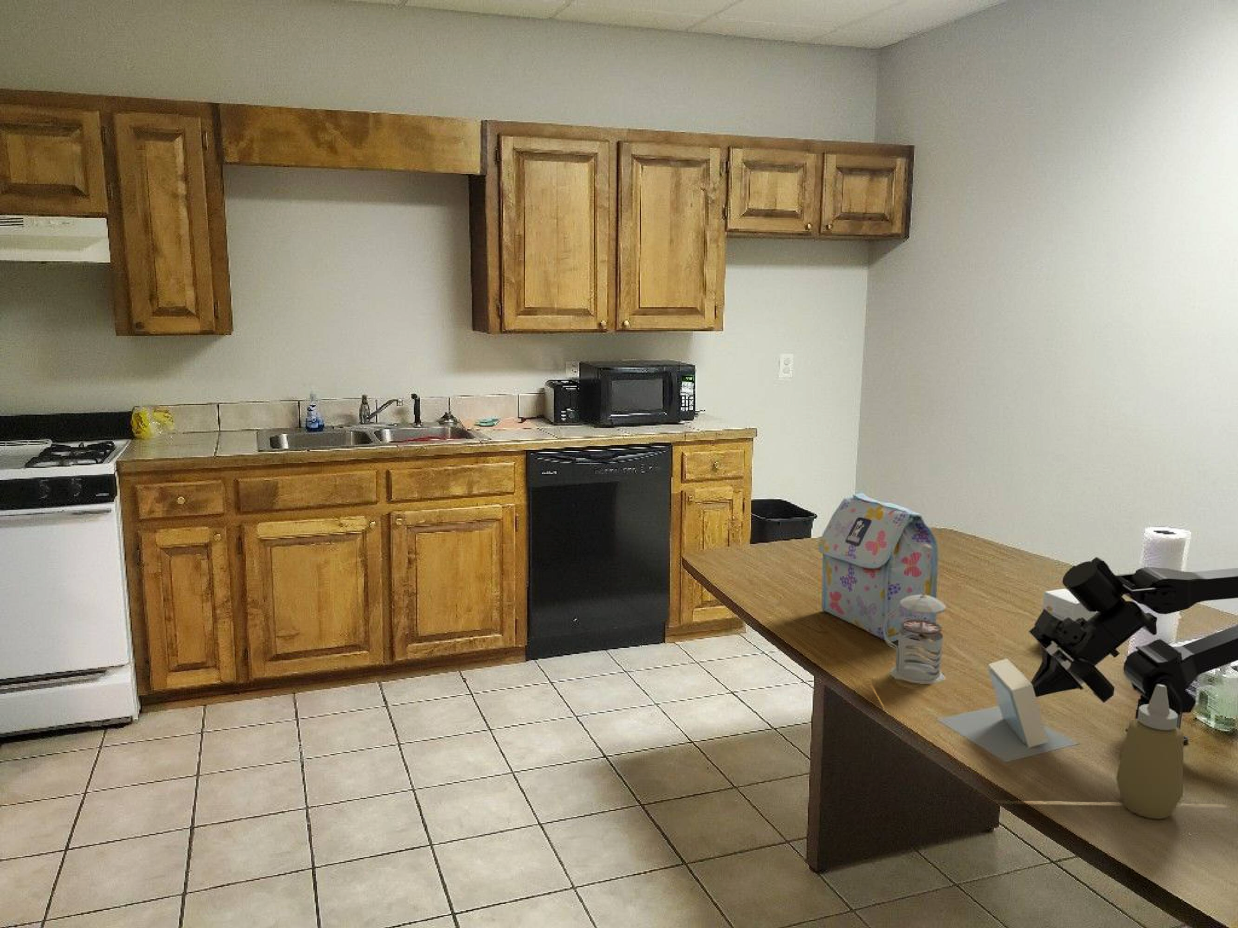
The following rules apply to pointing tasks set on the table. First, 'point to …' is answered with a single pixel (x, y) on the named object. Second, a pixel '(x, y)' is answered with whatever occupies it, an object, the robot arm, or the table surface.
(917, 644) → the french press
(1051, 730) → the mat
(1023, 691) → the tile
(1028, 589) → the table surface
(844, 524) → the lunch bag
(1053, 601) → the small box
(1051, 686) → the robot arm
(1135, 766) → the squeeze bottle
